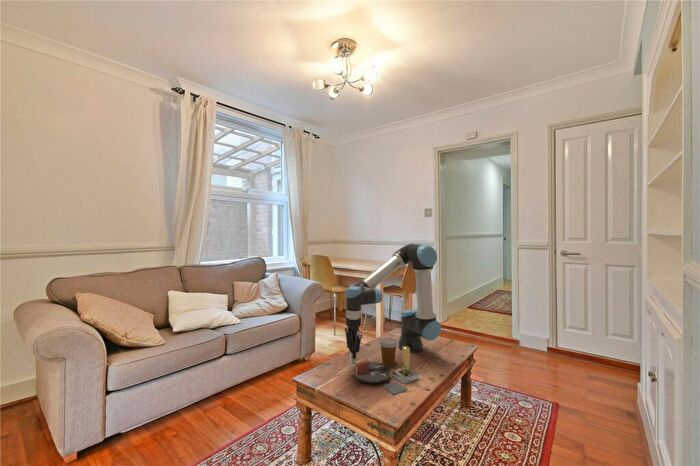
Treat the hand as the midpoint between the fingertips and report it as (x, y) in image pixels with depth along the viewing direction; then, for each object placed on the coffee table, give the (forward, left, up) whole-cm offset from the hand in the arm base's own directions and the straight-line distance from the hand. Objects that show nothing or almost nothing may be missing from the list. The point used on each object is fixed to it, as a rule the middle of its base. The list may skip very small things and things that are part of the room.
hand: (352, 364), depth 151 cm
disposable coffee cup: (-24, -1, -5) cm, 24 cm away
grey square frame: (-21, +16, -5) cm, 27 cm away
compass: (-7, +7, -3) cm, 10 cm away
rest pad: (-10, +21, -5) cm, 24 cm away
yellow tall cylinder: (-21, +16, -5) cm, 27 cm away
